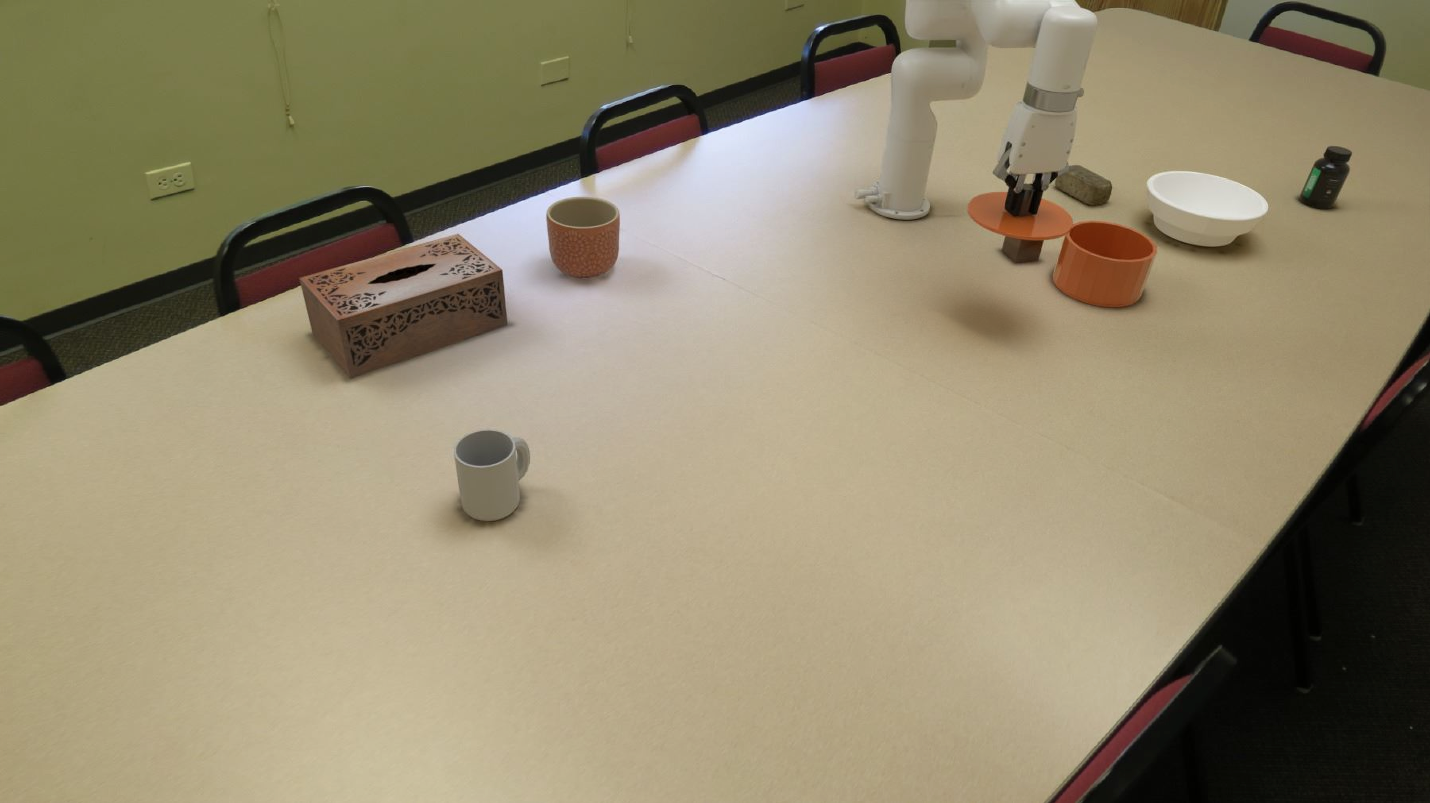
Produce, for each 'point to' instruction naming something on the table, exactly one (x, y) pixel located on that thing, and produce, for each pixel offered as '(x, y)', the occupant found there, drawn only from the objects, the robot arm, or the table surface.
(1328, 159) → the supplement bottle
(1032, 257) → the metal block
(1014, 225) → the pan lid
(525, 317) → the table surface
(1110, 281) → the pan
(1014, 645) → the table surface
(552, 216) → the planter
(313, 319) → the tissue box cover
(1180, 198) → the bowl
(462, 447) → the cup
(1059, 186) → the stone block
